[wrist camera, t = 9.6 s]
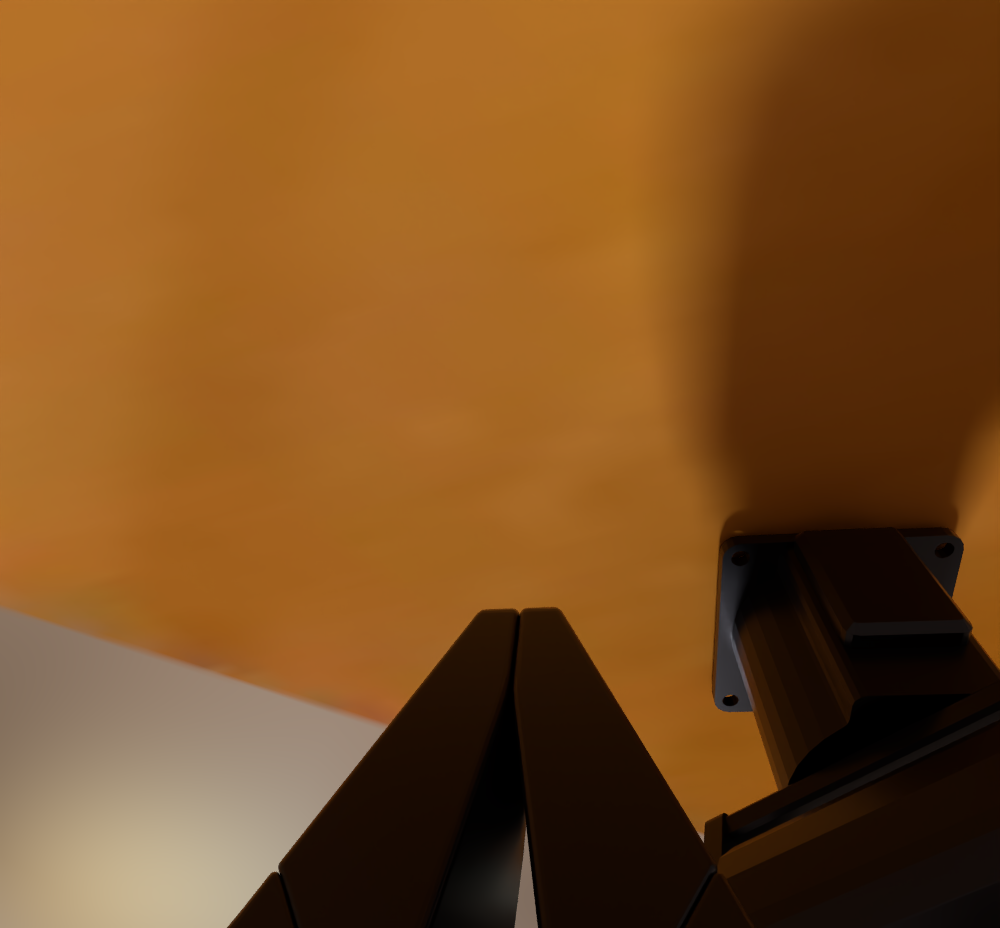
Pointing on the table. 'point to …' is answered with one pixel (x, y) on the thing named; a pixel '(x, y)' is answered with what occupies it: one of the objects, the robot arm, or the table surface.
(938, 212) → the table surface
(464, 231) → the table surface
